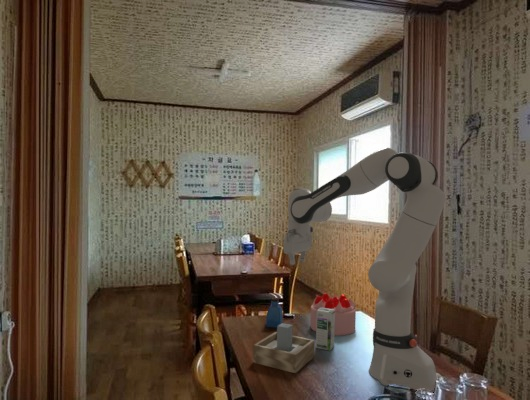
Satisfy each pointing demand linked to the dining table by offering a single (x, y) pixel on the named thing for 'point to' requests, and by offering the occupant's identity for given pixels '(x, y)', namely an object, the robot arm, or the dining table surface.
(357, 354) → the dining table surface
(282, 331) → the peg
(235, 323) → the dining table surface
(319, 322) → the syrup box
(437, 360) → the dining table surface
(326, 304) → the cake
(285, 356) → the crate
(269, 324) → the perfume bottle
